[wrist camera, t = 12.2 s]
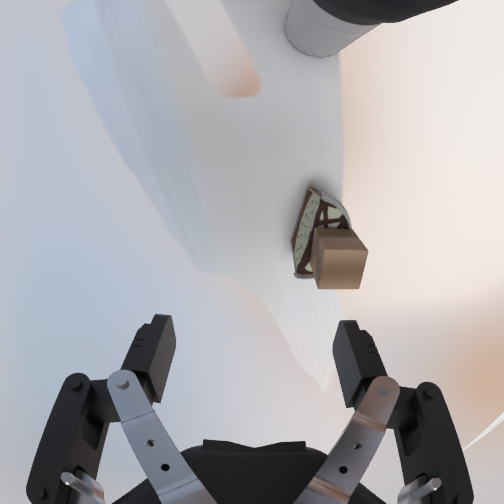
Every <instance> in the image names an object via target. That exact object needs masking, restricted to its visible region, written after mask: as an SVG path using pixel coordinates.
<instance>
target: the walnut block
mask: <svg viewBox="0 0 504 504" xmlns="http://www.w3.org/2000/svg"><path fill="white" fill-rule="evenodd" d="M367 254H368V250H367V248H366V247H365V246H364V244H363V243H362V242H361V240H360V239H359V238H358V236H357V235H356V234H355V232H354V231H353V230H352V229H339V228H319V227H314V235H313V243H312V250H311V258H310V265H311V268H312V271H313V274H314V277H315V280H316V284H317V287H318V289H359V287H360V283H361V279H362V275H363V271H364V267H365V263H366V258H367Z"/></svg>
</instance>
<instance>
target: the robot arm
mask: <svg viewBox="0 0 504 504" xmlns="http://www.w3.org/2000/svg"><path fill="white" fill-rule="evenodd" d="M455 1H458V0H293V1H292V4H291V7H290V10H289V12H288V15H287V19H286V22H285V33H286V36H287V38H288V40H289V42H290V43H291V44H292V45H293V46H294V47H295V48H296V49H297V50H299V51H300V52H302V53H304V54H306V55H309V56H313V57H328V56H331V55H334V54H336V53H337V52H339V51H340V50H342V49H343V48H345V47H346V46H348V45H349V44H351V43H352V42H354V41H355V40H356V39H358V38H360V37H361V36H363V35H364V34H366V33H367V32H369V31H370V30H372V29H373V28H375V27H376V26H378V25H380V24H381V23H395V22H400V21H403V20H406V19H408V18H410V17H413V16H416V15H419V14H422V13H425V12H427V11H431V10H434V9H437V8H440V7H443V6H446V5H449V4H451V3H453V2H455ZM175 348H176V337H175V332H174V327H173V322H172V317H171V315H161V314H155V315H154V318H153V320H152V322H151V324H144V325H143V326H142V327H141V328H140V329H139V330H138V331H137V333H136V335H135V337H134V340H133V342H132V344H131V346H130V349H129V351H128V353H127V355H126V358H125V360H124V363H123V365H122V367H121V369H120V370H119V371H116V372H114V373H113V374H111V375H110V376H109V378H108V379H105V380H93V381H92V380H91V381H90V380H89V378H88V377H87V376H86V375H85V374H83V373H74V374H72V375H70V376H68V377H67V378H66V379H65V381H64V383H63V385H62V388H61V390H60V392H59V394H58V397H57V399H56V402H55V404H54V406H53V409H52V411H51V414H50V416H49V419H48V421H47V424H46V427H45V429H44V432H43V435H42V438H41V441H40V443H39V446H38V449H37V452H36V455H35V458H34V461H33V465H32V468H31V471H30V475H29V478H28V482H27V486H26V493H27V496H28V499H29V500H30V502H31V503H32V504H105V501H104V491H103V488H102V486H101V485H100V484H99V483H98V482H97V481H96V477H97V472H98V467H99V463H100V459H101V455H102V451H103V446H104V442H105V439H106V435H107V431H108V427H109V423H110V422H122V423H121V425H122V428H123V430H124V432H125V434H126V436H127V439H128V441H129V443H130V445H131V447H132V449H133V451H134V453H135V455H136V457H137V459H138V461H139V463H140V465H141V467H142V468H143V470H144V472H145V474H146V476H147V477H148V478H147V479H146V480H144V481H143V482H142V483H140V484H139V485H138V486H136V487H135V488H133V489H132V490H131V491H129V492H128V493H126V494H125V495H124V496H122V497H121V498H119V499H118V500H116V501H115V502H114V503H112V504H386V503H385V502H384V501H382V500H381V499H380V498H378V497H377V496H376V495H375V494H373V493H372V492H371V491H370V490H368V489H367V488H366V487H365V486H364V485H362V484H361V483H360V482H359V481H360V480H361V478H362V476H363V475H364V473H365V471H366V469H367V467H368V466H369V464H370V462H371V460H372V458H373V456H374V454H375V452H376V450H377V449H378V446H379V445H380V443H381V440H382V438H383V436H384V434H385V432H386V429H387V428H389V429H394V434H395V438H396V443H397V447H398V451H399V457H400V461H401V467H402V472H403V477H404V483H405V487H403V489H401V491H400V492H399V495H398V502H397V504H472V503H473V499H474V494H473V490H472V485H471V481H470V477H469V473H468V469H467V466H466V462H465V458H464V455H463V452H462V449H461V446H460V442H459V439H458V436H457V433H456V430H455V427H454V424H453V421H452V418H451V416H450V413H449V410H448V408H447V405H446V402H445V400H444V397H443V395H442V392H441V390H440V389H439V387H438V386H437V385H435V384H434V383H431V382H423V383H421V384H420V385H419V386H418V387H417V388H416V389H414V388H407V387H401V386H399V385H398V383H397V382H396V381H395V380H394V379H393V378H391V377H388V375H387V373H386V371H385V368H384V366H383V363H382V360H381V358H380V355H379V353H378V350H377V348H376V347H375V343H374V341H373V338H372V336H370V334H369V333H367V331H366V330H360V329H359V326H358V324H357V322H356V321H355V320H341V321H340V322H339V325H338V328H337V332H336V335H335V338H334V342H333V356H334V360H335V364H336V368H337V372H338V376H339V380H340V384H341V388H342V392H343V396H344V400H345V405H346V408H350V407H354V409H355V413H354V414H353V416H352V418H351V420H350V421H349V423H348V425H347V426H346V428H345V430H344V431H343V433H342V435H341V436H340V438H339V439H338V441H337V442H336V444H335V445H334V447H333V448H332V450H331V451H330V453H329V454H328V455H327V454H325V453H323V452H321V451H318V450H316V449H313V448H309V447H306V443H305V441H298V442H279V443H275V444H271V445H266V446H262V447H257V448H253V447H248V446H244V445H240V444H236V443H233V442H229V441H217V440H206V439H205V440H203V445H200V446H195V447H191V448H189V449H186V450H184V451H182V452H179V451H178V449H177V448H176V446H175V444H174V443H173V441H172V440H171V438H170V436H169V435H168V433H167V431H166V430H165V428H164V426H163V425H162V423H161V421H160V419H159V418H158V416H157V414H156V412H155V411H154V410H153V408H152V404H153V402H157V403H161V399H162V395H163V391H164V388H165V384H166V381H167V377H168V373H169V370H170V366H171V363H172V359H173V356H174V352H175Z"/></svg>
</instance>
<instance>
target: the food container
mask: <svg viewBox="0 0 504 504" xmlns="http://www.w3.org/2000/svg"><path fill="white" fill-rule="evenodd" d="M314 227H319V228H339V229H352V227H351V222H350V219H349V216H348V213H347V211H346V210H345V208H344V206H343V205H342V204H341V203H340V202H339V201H338V200H337V199H336V198H334V197H333V196H331V195H329V194H328V193H325V192H322V191H321V193H319V192H318V191H316V190H315V189H313V188H310V187H307V189H306V192H305V195H304V199H303V202H302V205H301V208H300V212H299V215H298V218H297V221H296V225H295V228H294V231H293V234H292V237H291V246H292V253H293V260H294V267H295V273H294V276H295V277H296V278H297V279H312V278H315V277H314V274H313V271H312V268H311V265H310V258H311V250H312V243H313V235H314Z"/></svg>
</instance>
